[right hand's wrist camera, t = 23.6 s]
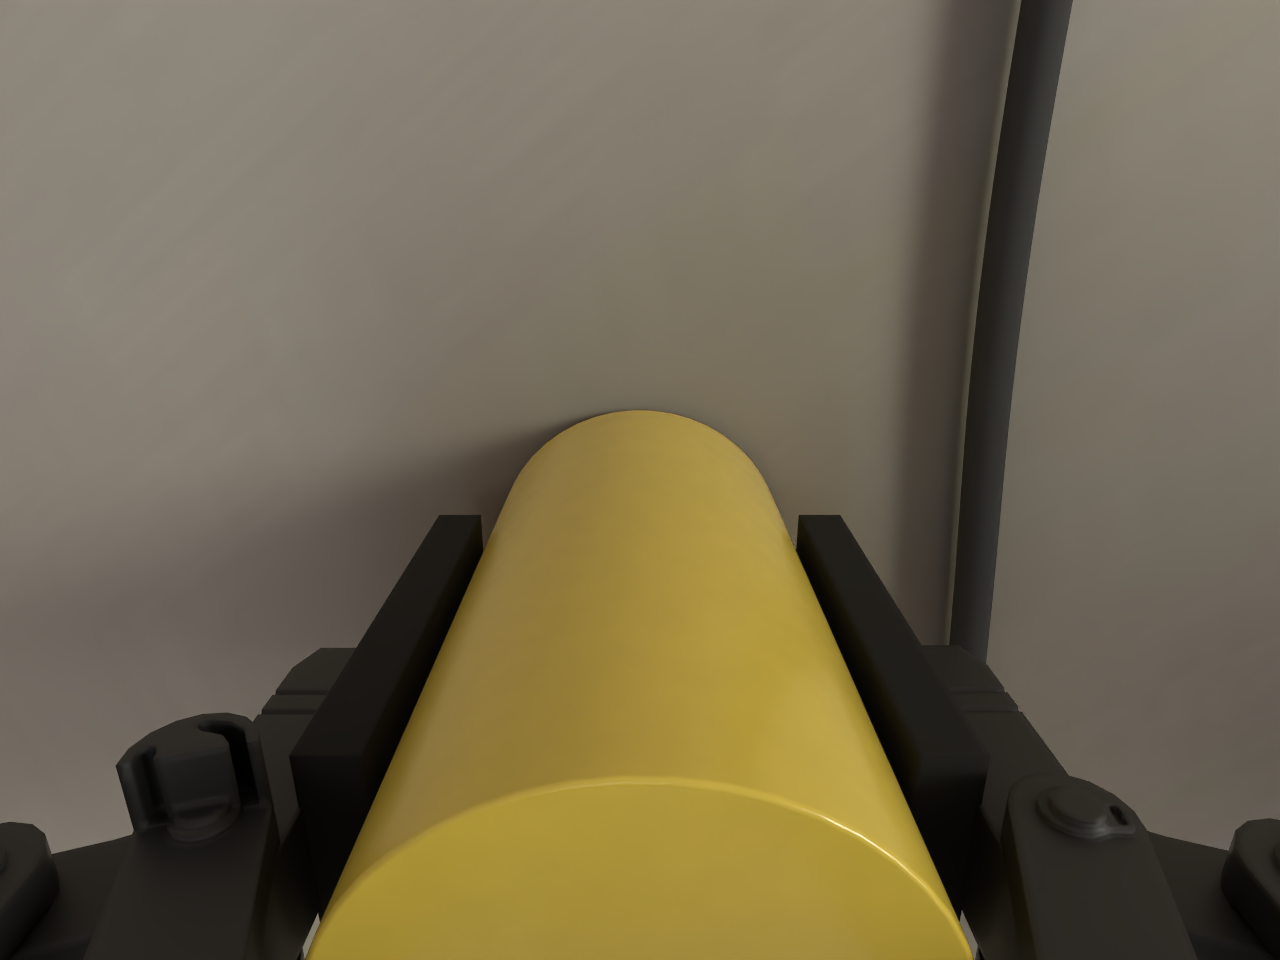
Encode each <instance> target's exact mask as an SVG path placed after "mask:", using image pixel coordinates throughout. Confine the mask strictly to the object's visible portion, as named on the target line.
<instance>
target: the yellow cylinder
mask: <svg viewBox="0 0 1280 960" xmlns="http://www.w3.org/2000/svg"><path fill="white" fill-rule="evenodd" d="M305 960H974V958H973V955H972V952H971V949H970V946H969V943H968V941H967V939H966V936H965V934H964V932H963V930H962V927H961V925H960V923H959V921H958V918H957V916H956V914H955V911H954V909H953V907H952V905H951V902H950V900H949V898H948V895H947V893H946V891H945V889H944V886H943V884H942V882H941V880H940V877H939V875H938V873H937V870H936V868H935V866H934V864H933V861H932V859H931V857H930V855H929V852H928V850H927V848H926V845H925V843H924V841H923V839H922V836H921V834H920V832H919V829H918V827H917V825H916V823H915V820H914V818H913V816H912V814H911V811H910V809H909V807H908V804H907V802H906V800H905V798H904V795H903V793H902V791H901V788H900V786H899V784H898V782H897V779H896V777H895V775H894V773H893V770H892V768H891V766H890V763H889V761H888V759H887V757H886V754H885V752H884V750H883V747H882V745H881V743H880V741H879V738H878V736H877V734H876V732H875V729H874V727H873V725H872V722H871V720H870V718H869V716H868V713H867V711H866V709H865V707H864V704H863V702H862V700H861V697H860V695H859V693H858V691H857V688H856V686H855V684H854V681H853V679H852V677H851V675H850V672H849V670H848V668H847V666H846V663H845V661H844V659H843V656H842V654H841V652H840V650H839V647H838V645H837V643H836V640H835V638H834V636H833V634H832V631H831V629H830V627H829V625H828V622H827V620H826V618H825V615H824V613H823V611H822V609H821V606H820V604H819V602H818V599H817V597H816V595H815V593H814V590H813V588H812V586H811V584H810V581H809V579H808V577H807V574H806V572H805V570H804V568H803V565H802V563H801V561H800V559H799V556H798V554H797V552H796V549H795V547H794V545H793V543H792V540H791V538H790V536H789V533H788V531H787V529H786V527H785V524H784V522H783V520H782V518H781V515H780V513H779V511H778V508H777V506H776V504H775V502H774V499H773V497H772V495H771V492H770V490H769V488H768V486H767V484H766V483H765V481H764V479H763V477H762V475H761V474H760V472H759V471H758V469H757V468H756V467H755V465H754V464H753V462H752V461H751V460H750V459H749V458H748V457H747V456H746V455H745V454H744V453H743V452H742V450H741V449H740V448H739V447H738V446H736V445H735V444H734V443H732V442H731V441H730V440H729V439H727V438H726V437H725V436H724V435H722V434H720V433H718V432H717V431H715V430H713V429H712V428H710V427H708V426H706V425H704V424H702V423H699V422H697V421H695V420H692V419H690V418H686V417H683V416H679V415H675V414H672V413H665V412H659V411H647V410H631V411H621V412H613V413H609V414H605V415H601V416H596V417H593V418H591V419H588V420H585V421H583V422H580V423H578V424H576V425H574V426H572V427H570V428H568V429H566V430H565V431H563V432H561V433H559V434H558V435H557V436H555V437H554V438H553V439H551V440H550V441H548V442H547V443H546V444H545V445H544V446H543V447H542V448H540V449H539V450H538V451H537V452H536V453H535V454H534V455H533V456H532V457H531V459H530V460H529V461H528V462H527V464H526V465H525V466H524V468H523V469H522V470H521V472H520V473H519V475H518V477H517V479H516V480H515V482H514V484H513V486H512V488H511V490H510V492H509V495H508V497H507V499H506V501H505V504H504V506H503V508H502V511H501V513H500V515H499V517H498V520H497V522H496V524H495V526H494V529H493V531H492V533H491V536H490V538H489V540H488V542H487V545H486V547H485V549H484V551H483V554H482V556H481V558H480V561H479V563H478V565H477V567H476V570H475V572H474V574H473V576H472V579H471V581H470V583H469V586H468V588H467V590H466V592H465V595H464V597H463V599H462V602H461V604H460V606H459V608H458V611H457V613H456V615H455V617H454V620H453V622H452V624H451V627H450V629H449V631H448V633H447V636H446V638H445V640H444V642H443V645H442V647H441V649H440V652H439V654H438V656H437V658H436V661H435V663H434V665H433V667H432V670H431V672H430V674H429V677H428V679H427V681H426V683H425V686H424V688H423V690H422V692H421V695H420V697H419V699H418V702H417V704H416V706H415V708H414V711H413V713H412V715H411V717H410V720H409V722H408V724H407V727H406V729H405V731H404V733H403V736H402V738H401V740H400V742H399V745H398V747H397V749H396V752H395V754H394V756H393V758H392V761H391V763H390V765H389V767H388V770H387V772H386V774H385V777H384V779H383V781H382V783H381V786H380V788H379V790H378V793H377V795H376V797H375V799H374V802H373V804H372V806H371V808H370V811H369V813H368V815H367V818H366V820H365V822H364V824H363V827H362V829H361V831H360V833H359V836H358V838H357V840H356V843H355V845H354V847H353V849H352V852H351V854H350V856H349V858H348V861H347V863H346V865H345V868H344V870H343V872H342V874H341V877H340V879H339V881H338V883H337V886H336V888H335V890H334V893H333V895H332V897H331V899H330V902H329V904H328V906H327V908H326V911H325V913H324V915H323V918H322V920H321V922H320V924H319V927H318V929H317V931H316V933H315V936H314V938H313V941H312V943H311V946H310V949H309V951H308V954H307V956H306V959H305Z"/></svg>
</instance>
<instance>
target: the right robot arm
mask: <svg viewBox="0 0 1280 960" xmlns="http://www.w3.org/2000/svg"><path fill="white" fill-rule="evenodd" d="M1072 1H1073V0H1022V1H1021V7H1020V13H1019V19H1018V26H1017V32H1016V38H1015V44H1014V50H1013V57H1012V63H1011V69H1010V76H1009V82H1008V88H1007V95H1006V101H1005V108H1004V114H1003V121H1002V127H1001V134H1000V141H999V147H998V154H997V161H996V168H995V175H994V182H993V189H992V197H991V204H990V211H989V219H988V226H987V234H986V242H985V250H984V258H983V266H982V274H981V282H980V291H979V300H978V309H977V317H976V327H975V336H974V346H973V355H972V366H971V376H970V386H969V398H968V409H967V421H966V433H965V446H964V459H963V472H962V486H961V500H960V515H959V529H958V543H957V556H956V570H955V583H954V596H953V608H952V620H951V632H950V644H949V646H922V645H921V644H920V642H919V641H918V639H917V637H916V636H915V634H914V633H913V631H912V629H911V628H910V626H909V625H908V623H907V621H906V620H905V618H904V617H903V615H902V613H901V612H900V610H899V609H898V607H897V605H896V604H895V602H894V601H893V599H892V597H891V596H890V594H889V593H888V591H887V589H886V588H885V586H884V585H883V583H882V581H881V580H880V578H879V577H878V575H877V573H876V572H875V570H874V569H873V567H872V565H871V564H870V562H869V561H868V559H867V557H866V556H865V554H864V553H863V551H862V549H861V548H860V546H859V545H858V543H857V541H856V540H855V538H854V537H853V535H852V533H851V532H850V530H849V529H848V527H847V525H846V524H845V522H844V521H843V519H842V517H841V516H840V515H799V520H798V534H797V547H796V552H797V554H798V556H799V559H800V561H801V563H802V565H803V568H804V570H805V572H806V574H807V577H808V579H809V581H810V584H811V586H812V588H813V590H814V593H815V595H816V597H817V599H818V602H819V604H820V606H821V609H822V611H823V613H824V615H825V618H826V620H827V622H828V625H829V627H830V629H831V631H832V634H833V636H834V638H835V640H836V643H837V645H838V647H839V650H840V652H841V654H842V656H843V659H844V661H845V663H846V666H847V668H848V670H849V672H850V675H851V677H852V679H853V681H854V684H855V686H856V688H857V691H858V693H859V695H860V697H861V700H862V702H863V704H864V707H865V709H866V711H867V713H868V716H869V718H870V720H871V722H872V725H873V727H874V729H875V732H876V734H877V736H878V738H879V741H880V743H881V745H882V747H883V750H884V752H885V754H886V757H887V759H888V761H889V763H890V766H891V768H892V770H893V773H894V775H895V777H896V779H897V782H898V784H899V786H900V788H901V791H902V793H903V795H904V798H905V800H906V802H907V804H908V807H909V809H910V811H911V814H912V816H913V818H914V820H915V823H916V825H917V827H918V829H919V832H920V834H921V836H922V839H923V841H924V843H925V845H926V848H927V850H928V852H929V855H930V857H931V859H932V861H933V864H934V866H935V868H936V870H937V873H938V875H939V877H940V880H941V882H942V884H943V886H944V889H945V891H946V893H947V895H948V898H949V900H950V902H951V905H952V907H953V909H954V911H955V914H956V916H957V918H958V921H959V922H960V916H961V911H963V913H964V915H965V918H966V920H967V922H968V924H969V926H970V929H971V931H972V933H973V935H974V938H975V940H976V942H977V944H978V948H977V953H976V958H975V960H1280V820H1276V819H1270V818H1269V819H1260V820H1252V821H1247V822H1246V823H1245V824H1243V825H1242V826H1241V827H1239V828H1238V829H1237V830H1236V831H1235V834H1234V837H1233V840H1232V843H1231V846H1230V849H1229V851H1226V850H1222V849H1218V848H1213V847H1209V846H1205V845H1200V844H1196V843H1191V842H1187V841H1183V840H1178V839H1174V838H1169V837H1165V836H1162V835H1159V834H1155V833H1152V832H1148V831H1147V830H1146V828H1145V827H1144V825H1143V824H1142V822H1141V821H1140V819H1139V818H1138V816H1137V815H1136V813H1135V812H1134V811H1133V810H1132V809H1131V808H1130V807H1128V806H1127V805H1126V804H1125V803H1124V802H1122V801H1121V800H1120V799H1119V798H1118V797H1116V796H1115V795H1114V794H1112V793H1110V792H1108V791H1106V790H1104V789H1102V788H1100V787H1099V786H1097V785H1095V784H1093V783H1091V782H1089V781H1085V780H1082V779H1078V778H1075V777H1072V776H1069V775H1068V774H1067V772H1066V771H1065V770H1064V768H1063V767H1062V766H1061V764H1060V763H1059V762H1058V760H1057V759H1056V758H1055V756H1054V755H1053V754H1052V752H1051V751H1050V749H1049V748H1048V747H1047V745H1046V744H1045V743H1044V741H1043V740H1042V739H1041V737H1040V736H1039V735H1038V733H1037V732H1036V730H1035V729H1034V728H1033V726H1032V725H1031V724H1030V722H1029V721H1028V720H1027V718H1026V717H1025V716H1024V714H1023V713H1022V712H1019V711H1018V706H1017V705H1016V703H1015V702H1014V701H1013V699H1012V698H1011V697H1010V695H1009V694H1008V693H1005V692H1004V687H1003V686H1002V684H1001V683H1000V682H999V680H998V679H997V678H996V676H995V675H994V674H993V672H992V671H991V670H990V668H989V667H988V666H987V665H986V656H987V646H988V637H989V627H990V618H991V608H992V598H993V587H994V577H995V566H996V556H997V545H998V534H999V523H1000V511H1001V500H1002V489H1003V478H1004V468H1005V457H1006V447H1007V437H1008V427H1009V417H1010V408H1011V399H1012V390H1013V381H1014V372H1015V364H1016V355H1017V347H1018V339H1019V331H1020V323H1021V316H1022V308H1023V301H1024V294H1025V286H1026V279H1027V272H1028V265H1029V258H1030V251H1031V244H1032V237H1033V231H1034V224H1035V217H1036V211H1037V204H1038V198H1039V192H1040V185H1041V179H1042V173H1043V167H1044V161H1045V155H1046V149H1047V143H1048V137H1049V131H1050V125H1051V119H1052V113H1053V108H1054V102H1055V96H1056V90H1057V85H1058V79H1059V73H1060V68H1061V62H1062V56H1063V51H1064V45H1065V40H1066V34H1067V29H1068V23H1069V18H1070V12H1071V7H1072ZM482 554H483V540H482V527H481V515H439V517H438V518H437V520H436V521H435V523H434V525H433V526H432V528H431V529H430V531H429V533H428V534H427V536H426V537H425V539H424V541H423V542H422V544H421V545H420V547H419V549H418V550H417V552H416V553H415V555H414V557H413V558H412V560H411V561H410V563H409V565H408V566H407V568H406V569H405V571H404V573H403V574H402V576H401V577H400V579H399V581H398V582H397V584H396V585H395V587H394V589H393V590H392V592H391V593H390V595H389V597H388V598H387V600H386V601H385V603H384V605H383V606H382V608H381V609H380V611H379V613H378V614H377V616H376V617H375V619H374V621H373V622H372V624H371V625H370V627H369V629H368V630H367V632H366V633H365V635H364V637H363V638H362V640H361V641H360V643H359V645H358V646H357V648H320V649H319V650H317V651H316V652H314V653H313V654H312V655H310V656H309V657H307V658H306V659H304V660H303V661H302V662H300V663H299V664H297V665H296V666H294V667H293V668H292V669H291V671H290V672H289V673H288V675H287V676H286V677H285V679H284V680H283V682H282V683H281V684H280V686H279V687H278V688H277V690H276V695H272V696H271V698H270V699H269V701H268V702H267V703H266V705H265V706H264V707H263V709H262V714H261V715H258V716H257V717H256V718H255V720H254V721H253V722H252V721H251V720H250V719H248V718H247V717H245V716H240V715H236V714H231V713H213V714H201V715H198V716H194V717H190V718H186V719H182V720H178V721H175V722H173V723H171V724H169V725H166V726H164V727H162V728H160V729H158V730H156V731H153V732H151V733H149V734H148V735H147V736H145V737H144V738H143V739H141V740H140V741H138V742H137V743H136V744H134V745H133V746H132V747H130V748H129V749H128V750H127V752H126V753H125V754H124V755H123V757H122V758H121V759H120V761H119V762H118V763H117V764H116V768H117V772H118V776H119V779H120V783H121V786H122V790H123V793H124V797H125V800H126V804H127V807H128V811H129V814H130V818H131V822H132V825H133V829H134V831H133V834H132V835H129V836H126V837H122V838H119V839H116V840H112V841H107V842H103V843H99V844H94V845H90V846H85V847H81V848H77V849H72V850H68V851H64V852H59V853H55V854H51V851H50V848H49V845H48V842H47V839H46V836H45V834H44V833H43V832H42V831H40V830H39V829H38V828H37V827H35V826H34V825H33V824H25V823H16V822H7V823H1V824H0V960H305V958H304V953H303V948H302V947H303V945H304V943H305V940H306V938H307V936H308V934H309V931H310V929H311V927H312V925H313V923H314V920H315V918H316V916H317V914H319V919H320V922H321V920H322V918H323V915H324V913H325V911H326V908H327V906H328V904H329V902H330V899H331V897H332V895H333V893H334V890H335V888H336V886H337V883H338V881H339V879H340V877H341V874H342V872H343V870H344V868H345V865H346V863H347V861H348V858H349V856H350V854H351V852H352V849H353V847H354V845H355V843H356V840H357V838H358V836H359V833H360V831H361V829H362V827H363V824H364V822H365V820H366V818H367V815H368V813H369V811H370V808H371V806H372V804H373V802H374V799H375V797H376V795H377V793H378V790H379V788H380V786H381V783H382V781H383V779H384V777H385V774H386V772H387V770H388V767H389V765H390V763H391V761H392V758H393V756H394V754H395V752H396V749H397V747H398V745H399V742H400V740H401V738H402V736H403V733H404V731H405V729H406V727H407V724H408V722H409V720H410V717H411V715H412V713H413V711H414V708H415V706H416V704H417V702H418V699H419V697H420V695H421V692H422V690H423V688H424V686H425V683H426V681H427V679H428V677H429V674H430V672H431V670H432V667H433V665H434V663H435V661H436V658H437V656H438V654H439V652H440V649H441V647H442V645H443V642H444V640H445V638H446V636H447V633H448V631H449V629H450V627H451V624H452V622H453V620H454V617H455V615H456V613H457V611H458V608H459V606H460V604H461V602H462V599H463V597H464V595H465V592H466V590H467V588H468V586H469V583H470V581H471V579H472V576H473V574H474V572H475V570H476V567H477V565H478V563H479V561H480V558H481V556H482Z"/></svg>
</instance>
